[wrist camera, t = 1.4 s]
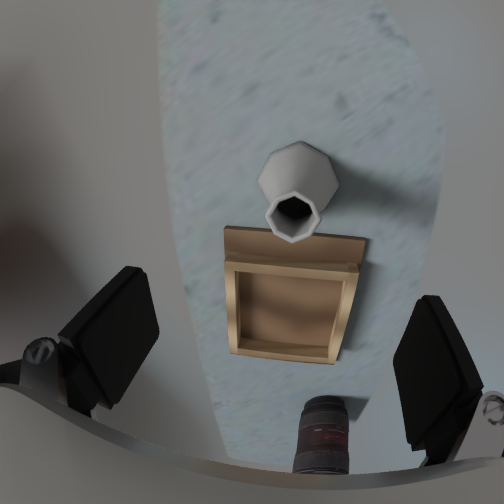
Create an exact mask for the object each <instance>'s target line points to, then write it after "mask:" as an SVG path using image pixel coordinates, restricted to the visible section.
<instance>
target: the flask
mask: <svg viewBox="0 0 504 504" xmlns="http://www.w3.org/2000/svg"><path fill="white" fill-rule="evenodd" d="M257 181H258V183H259V185H260V187H261V189H262V191H263V193H264V195H265V197H266V199H267V201H268V203H269V205H270V207H269V209H268V211H267V213H266V214H265V217H266V219H267V221H268V223H269V225H270V227H271V229H272V231H273V233H274V234H275V235H277V236H278V237H280V238H282V239H284V240H286V241H288V242H289V243H291V244H293V243H296V242H298V241H301V240H304V239H306V238H309V237H311V236H312V234H313V233H314V231H315V230H316V228H317V227H318V225H319V224H320V222H321V221H322V218H321V216H320V213H319V212H321V211H324V209H325V208H326V206H327V205H328V203H329V201H330V200H331V198H332V197H333V195H334V194H335V192H336V190H337V189H338V187H339V186H340V185H339V182H338V180H337V177H336V175H335V173H334V170H333V168H332V165H331V163H330V161H329V158H328V157H327V156H326V155H324V154H322V153H321V152H319V151H317V150H315V149H314V148H312V147H310V146H308V145H307V144H305V143H303V142H301V141H298V142H295V143H293V144H291V145H288V146H286V147H284V148H281V149H279V150H277V151H275V152H272V153H271V154H270V156H269V158H268V159H267V161H266V163H265V165H264V167H263V169H262V171H261V173H260V175H259V176H258V178H257Z"/></svg>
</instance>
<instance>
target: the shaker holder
mask: <svg viewBox="0 0 504 504" xmlns="http://www.w3.org/2000/svg"><path fill="white" fill-rule="evenodd" d="M365 242H366V241H365V238H363V237H353V236H343V235H333V234H322V233H313V234H312V236H311V237H309V238H306V239H304V240H301V241H298V242H296V243H293V244H291V243H289V242H288V241H286V240H284V239H282V238H280V237H278V236H277V235H275V234H274V233H273V231H272V229H263V228H250V227H236V226H225V228H224V248H225V260H224V268H225V287H226V304H227V320H228V335H229V349H230V353H231V354H237V355H244V356H251V357H258V358H266V359H275V360H283V361H293V362H304V363H317V364H331V365H334V364H335V361H336V358H337V355H338V352H339V349H340V346H341V342H342V339H343V335H344V332H345V328H346V325H347V321H348V318H349V314H350V310H351V306H352V302H353V298H354V294H355V290H356V286H357V282H358V277H359V271H360V267H361V262H362V257H363V252H364V247H365Z"/></svg>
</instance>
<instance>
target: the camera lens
mask: <svg viewBox="0 0 504 504" xmlns="http://www.w3.org/2000/svg"><path fill="white" fill-rule="evenodd" d="M348 432H349V420H348V413H347V410H346V408H345V405H344V402H343V401H342V400H341V399H340V398H337V397H333V396H320V397H316V398H313V399H311V400H309V401H308V402H307V403H306V404H305V406H304V410H303V411H302V414H301V419H300V423H299V431H298V443H297V451H296V454H295V459H294V464H293V472H292V473H298V474H319V475H348V474H349V453H348Z"/></svg>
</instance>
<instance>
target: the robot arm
mask: <svg viewBox="0 0 504 504" xmlns="http://www.w3.org/2000/svg"><path fill="white" fill-rule="evenodd" d="M58 337H59V339H60V342H59V343H58V344H57V342H56V341H55V339H53V338H51V337H40V338H37V339H35V340H33V341H32V342H30V344H28V345H27V347H26V348H25V350H24V353H23V357H22V359H20V360H17V361H13V362H9V363H5V364H1V365H0V504H504V395H503V394H501V393H499V392H497V391H489V392H486V393H485V394H484V395H483V394H482V391H481V390H482V388H483V387H484V386H483V383H482V381H481V378H480V376H479V373H478V371H477V369H476V366H475V364H474V362H473V360H472V357H471V355H470V353H469V351H468V349H467V347H466V345H465V343H464V340H463V338H462V336H461V334H460V333H459V331H458V329H457V327H456V325H455V323H454V321H453V319H452V318H451V315H450V314H449V312H448V310H447V309H446V306H445V305H444V303H443V301H442V300H441V298H440V297H439V296H434V295H424V296H423V297H422V298H421V299H418V300H417V302H416V305H415V307H414V310H413V312H412V315H411V317H410V320H409V322H408V325H407V327H406V330H405V332H404V334H403V337H402V339H401V341H400V343H399V346H398V348H397V350H396V352H395V354H394V358H393V366H394V371H395V376H396V380H397V385H398V390H399V395H400V401H401V406H402V412H403V418H404V425H405V431H406V438H407V442H408V443H409V444H411V448H412V451H418V450H426V457H425V459H424V460H423V462H422V463H421V465H420V466H419V468H414V469H408V470H399V471H390V472H381V473H369V474H350V475H349V474H348V475H319V474H298V473H285V472H275V471H266V470H258V469H252V468H245V467H240V466H234V465H229V464H224V463H219V462H214V461H210V460H206V459H201V458H198V457H194V456H190V455H186V454H183V453H179V452H176V451H173V450H169V449H166V448H163V447H160V446H157V445H154V444H151V443H148V442H146V441H143V440H140V439H138V438H135V437H132V436H130V435H127V434H125V433H122V432H120V431H117V430H115V429H113V428H111V427H108V426H106V425H104V424H102V423H100V422H98V421H97V417H96V412H95V406H96V404H97V403H98V404H99V405H101V406H103V407H105V408H107V409H110V410H111V409H112V407H113V405H114V404H117V403H118V402H119V401H120V400H121V398H122V396H123V394H124V393H125V391H126V389H127V388H128V386H129V384H130V383H131V381H132V379H133V378H134V376H135V374H136V373H137V371H138V369H139V368H140V366H141V364H142V363H143V361H144V360H145V358H146V357H147V355H148V353H149V351H150V350H151V348H152V347H153V345H154V344H155V342H156V340H157V339H158V337H159V326H158V322H157V319H156V314H155V310H154V305H153V301H152V297H151V292H150V288H149V283H148V278H147V274H146V273H144V272H143V270H142V269H141V268H139V267H132V266H126V267H124V268H123V269H122V270H121V271H120V272H119V273H118V274H117V275H116V276H115V277H114V278H113V279H111V281H109V282H108V284H106V285H105V286H104V287H103V288H102V289H101V290H100V291H99V292H98V293H97V294H96V295H95V296H94V297H93V298H92V299H91V300H90V301H89V302H88V303H87V304H86V305H85V306H84V307H83V308H82V309H81V311H79V312H78V314H76V316H74V318H73V319H72V320H71V321H70V322H69V323H68V324H67V325H66V326H65V327H64V328H63V329H62V330H61V331H60V333H59V334H58Z"/></svg>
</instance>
